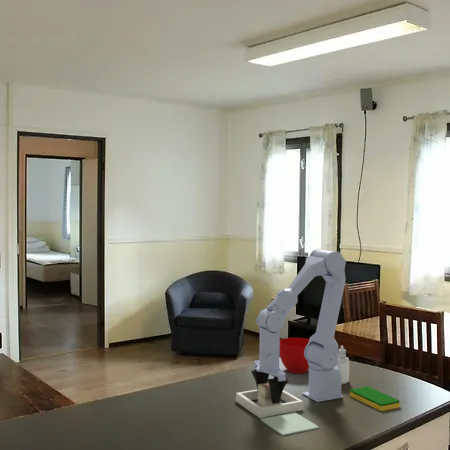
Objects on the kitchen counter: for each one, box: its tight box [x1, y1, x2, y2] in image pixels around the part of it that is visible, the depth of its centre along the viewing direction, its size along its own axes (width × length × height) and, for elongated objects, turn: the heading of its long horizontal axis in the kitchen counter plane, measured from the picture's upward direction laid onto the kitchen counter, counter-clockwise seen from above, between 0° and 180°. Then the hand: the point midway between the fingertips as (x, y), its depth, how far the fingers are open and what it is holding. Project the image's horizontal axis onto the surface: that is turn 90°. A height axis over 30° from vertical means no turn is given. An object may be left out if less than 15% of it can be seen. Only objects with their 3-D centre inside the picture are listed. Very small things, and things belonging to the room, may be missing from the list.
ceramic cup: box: [279, 337, 310, 374], centre depth 196 cm, size 13×17×10 cm
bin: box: [235, 389, 304, 419], centre depth 163 cm, size 14×14×2 cm
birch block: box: [257, 382, 281, 407], centre depth 163 cm, size 5×4×6 cm
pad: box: [260, 411, 320, 437], centre depth 150 cm, size 11×11×1 cm
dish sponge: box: [349, 386, 401, 412], centre depth 168 cm, size 7×14×2 cm, turn 27°
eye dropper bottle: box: [336, 345, 350, 385], centre depth 184 cm, size 4×6×12 cm
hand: (268, 398), depth 163 cm, fingers open, 7 cm apart
